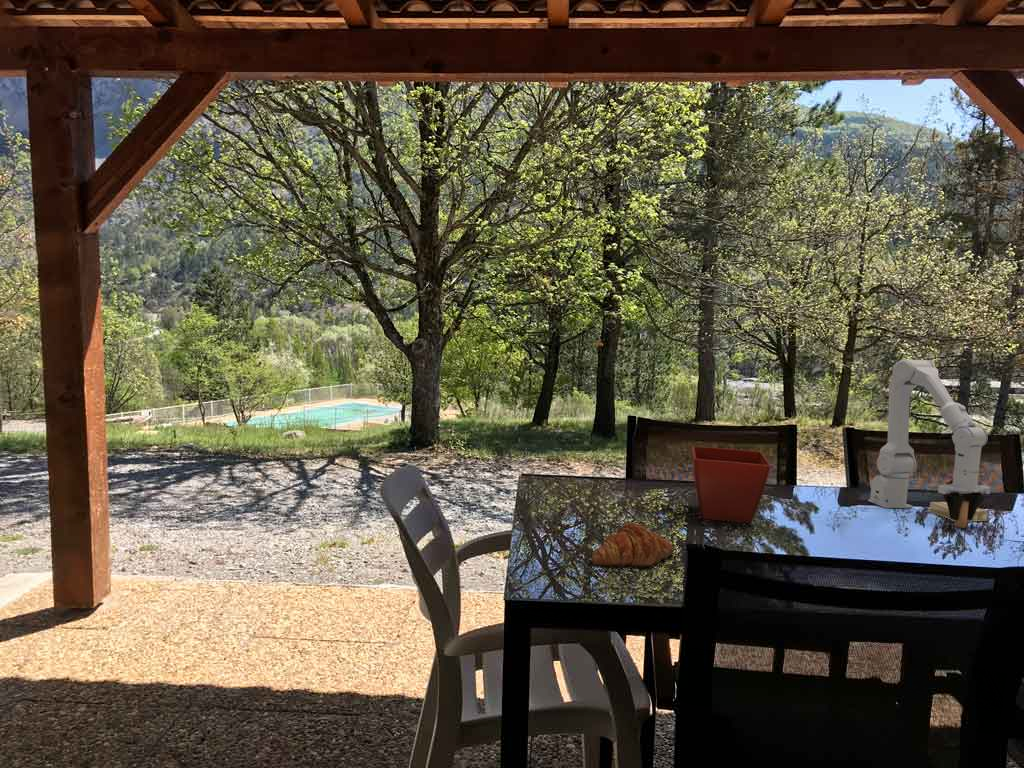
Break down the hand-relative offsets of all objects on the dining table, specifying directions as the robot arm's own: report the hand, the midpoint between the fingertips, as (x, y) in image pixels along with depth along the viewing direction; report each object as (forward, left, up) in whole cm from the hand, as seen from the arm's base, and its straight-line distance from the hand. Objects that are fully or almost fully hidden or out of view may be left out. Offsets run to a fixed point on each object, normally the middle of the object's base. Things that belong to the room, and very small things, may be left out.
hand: (960, 519), depth 204 cm
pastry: (-101, -22, -2) cm, 103 cm away
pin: (0, 0, -2) cm, 2 cm away
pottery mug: (+26, +29, -2) cm, 39 cm away
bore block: (+7, +9, -2) cm, 12 cm away
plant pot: (-63, +12, -2) cm, 64 cm away
